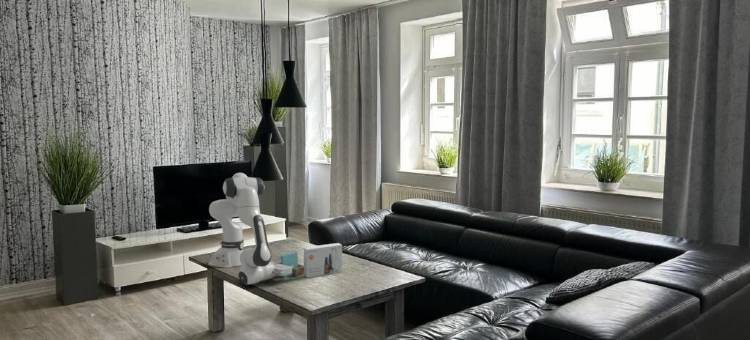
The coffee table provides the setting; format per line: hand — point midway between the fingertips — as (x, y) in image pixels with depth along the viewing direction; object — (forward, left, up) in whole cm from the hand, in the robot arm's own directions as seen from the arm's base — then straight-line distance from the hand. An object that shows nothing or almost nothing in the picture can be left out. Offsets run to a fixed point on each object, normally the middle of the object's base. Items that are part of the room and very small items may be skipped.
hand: (287, 265), depth 316 cm
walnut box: (+2, +5, -6) cm, 8 cm away
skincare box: (+18, +8, -6) cm, 21 cm away
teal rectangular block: (+1, +2, -6) cm, 6 cm away
